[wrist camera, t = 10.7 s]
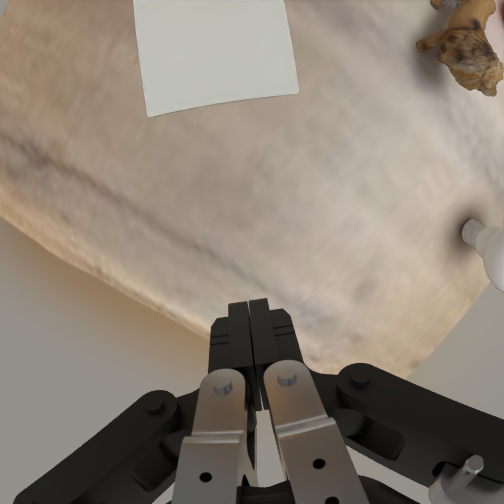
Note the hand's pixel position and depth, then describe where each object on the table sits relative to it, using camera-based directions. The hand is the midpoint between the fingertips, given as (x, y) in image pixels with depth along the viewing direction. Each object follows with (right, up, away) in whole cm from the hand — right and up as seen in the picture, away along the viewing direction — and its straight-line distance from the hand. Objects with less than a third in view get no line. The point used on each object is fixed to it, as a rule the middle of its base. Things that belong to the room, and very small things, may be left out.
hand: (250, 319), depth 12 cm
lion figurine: (+18, +23, +8) cm, 31 cm away
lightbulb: (+23, +5, +16) cm, 29 cm away
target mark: (-3, +20, +8) cm, 21 cm away
